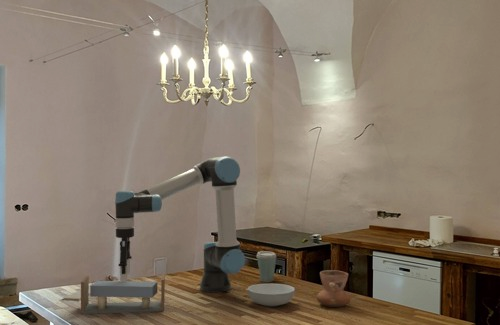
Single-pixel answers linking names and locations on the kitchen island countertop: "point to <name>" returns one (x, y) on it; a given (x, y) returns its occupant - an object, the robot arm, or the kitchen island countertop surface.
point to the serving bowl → (271, 294)
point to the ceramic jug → (333, 289)
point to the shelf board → (123, 289)
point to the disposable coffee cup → (266, 265)
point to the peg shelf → (119, 307)
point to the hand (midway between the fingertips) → (125, 277)
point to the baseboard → (75, 295)
